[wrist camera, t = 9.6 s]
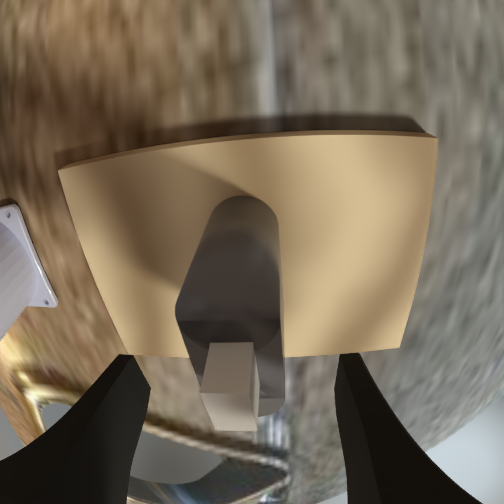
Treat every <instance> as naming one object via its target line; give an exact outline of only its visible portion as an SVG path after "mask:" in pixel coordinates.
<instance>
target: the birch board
mask: <svg viewBox="0 0 504 504" xmlns="http://www.w3.org/2000/svg"><path fill="white" fill-rule="evenodd" d="M437 148H438V138H437V137H435V136H432V135H430V134H428V133H422V132H405V131H381V130H314V131H289V132H272V133H258V134H245V135H234V136H225V137H215V138H207V139H199V140H191V141H184V142H177V143H170V144H164V145H157V146H151V147H146V148H140V149H134V150H129V151H124V152H119V153H114V154H109V155H104V156H100V157H95V158H91V159H86V160H82V161H78V162H74V163H70V164H68V165H66V166H65V167H63V168H61V169H60V170H58V173H59V176H60V180H61V184H62V187H63V191H64V194H65V197H66V201H67V204H68V207H69V210H70V214H71V217H72V220H73V223H74V226H75V229H76V232H77V234H78V237H79V240H80V243H81V246H82V248H83V251H84V254H85V256H86V259H87V262H88V264H89V267H90V269H91V272H92V274H93V277H94V279H95V282H96V284H97V287H98V289H99V291H100V294H101V296H102V298H103V301H104V303H105V305H106V307H107V310H108V312H109V314H110V316H111V318H112V320H113V323H114V325H115V327H116V329H117V331H118V333H119V335H120V337H121V339H122V341H123V343H124V345H125V347H126V349H127V351H128V353H129V354H135V355H150V356H167V357H189V355H188V352H187V349H186V347H185V344H184V341H183V338H182V335H181V333H180V330H179V327H178V324H177V321H176V317H175V305H176V301H177V298H178V296H179V293H180V291H181V288H182V285H183V283H184V280H185V278H186V275H187V272H188V270H189V267H190V265H191V262H192V260H193V257H194V255H195V252H196V250H197V247H198V245H199V242H200V240H201V237H202V235H203V232H204V230H205V228H206V225H207V223H208V220H209V218H210V215H211V213H212V211H213V210H214V209H215V207H216V206H217V205H218V204H219V203H221V202H222V201H224V200H225V199H228V198H230V197H234V196H251V197H254V198H257V199H259V200H261V201H263V202H264V203H266V204H267V205H268V206H269V207H270V208H271V209H272V210H273V212H274V213H275V215H276V217H277V220H278V225H279V238H280V253H281V269H282V285H283V303H284V354H285V357H298V356H316V355H330V354H343V353H354V352H364V351H374V350H382V349H391V348H399V346H400V343H401V340H402V337H403V334H404V330H405V327H406V323H407V320H408V316H409V313H410V309H411V305H412V301H413V298H414V294H415V289H416V285H417V281H418V277H419V272H420V268H421V263H422V258H423V253H424V248H425V243H426V237H427V232H428V226H429V219H430V213H431V206H432V199H433V191H434V182H435V173H436V162H437Z"/></svg>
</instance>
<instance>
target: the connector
mask: <svg viewBox="0 0 504 504" xmlns="http://www.w3.org/2000/svg"><path fill="white" fill-rule="evenodd" d="M175 317H176V321H177V324H178V327H179V330H180V333H181V335H182V338H183V341H184V344H185V347H186V349H187V352H188V355H189V358H190V360H191V363H192V366H193V368H194V371H195V374H196V376H197V379H198V381H199V384H200V386H201V390H200V394H201V397H202V399H203V402H204V404H205V406H206V409H207V411H208V413H209V416H210V418H211V420H212V422H213V425H214V427H215V429H216V430H230V431H257V423H258V417H261V416H265V415H269V414H271V413H274V412H275V411H277V410H278V409H280V408H281V407H282V405H283V404H284V401H285V354H284V303H283V285H282V269H281V253H280V238H279V225H278V220H277V217H276V215H275V213H274V212H273V210H272V209H271V208H270V207H269V206H268V205H267V204H266V203H264V202H263V201H261V200H259V199H257V198H254V197H251V196H234V197H230V198H228V199H225V200H224V201H222V202H221V203H219V204H218V205H217V206H216V207H215V209H214V210H213V211H212V213H211V215H210V218H209V220H208V223H207V225H206V228H205V230H204V232H203V235H202V237H201V240H200V242H199V245H198V247H197V250H196V252H195V255H194V257H193V260H192V262H191V265H190V267H189V270H188V272H187V275H186V278H185V280H184V283H183V285H182V288H181V291H180V293H179V296H178V298H177V301H176V305H175Z"/></svg>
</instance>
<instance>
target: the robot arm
mask: <svg viewBox="0 0 504 504" xmlns="http://www.w3.org/2000/svg"><path fill="white" fill-rule="evenodd" d="M57 304H58V299H57V297H56V295H55V293H54V291H53V289H52V287H51V285H50V283H49V281H48V279H47V276H46V274H45V272H44V270H43V267H42V265H41V263H40V261H39V258H38V256H37V253H36V251H35V249H34V246H33V244H32V241H31V239H30V236H29V233H28V231H27V228H26V225H25V223H24V220H23V217H22V214H21V211H20V209H19V207H18V206H17V205H16V204H11V205H7V206H3V207H0V341H1V340H2V338H3V337H4V336H5V334H6V333H7V331H8V330H9V329H10V327H11V326H12V325H13V323H14V322H15V320H16V319H17V318H18V316H19V315H20V314H21V313H22V311H23V310H24V309H25V307H26V306H38V307H56V306H57ZM150 390H151V387H150V386H149V384H148V382H147V380H146V378H145V377H144V375H143V373H142V371H141V369H140V367H139V365H138V364H137V362H136V360H135V358H134V356H133V355H122V354H119V355H118V356H117V357H116V358H115V359H114V361H113V362H112V363H111V364H110V365H109V366H108V367H107V369H106V370H105V371H104V372H103V373H102V374H101V376H100V377H99V378H98V379H97V380H96V381H95V382H94V384H93V385H92V386H91V387H90V388H89V389H88V390H87V391H86V393H85V394H84V395H83V396H82V397H81V398H80V399H79V400H78V401H77V402H76V403H75V404H74V405H73V407H72V408H71V409H70V410H69V411H68V412H67V413H66V414H65V415H64V416H63V417H62V418H61V419H60V420H59V421H58V422H56V423H55V424H54V425H53V426H52V427H51V428H49V429H48V430H47V431H46V432H45V433H43V434H42V435H41V436H39V437H38V438H37V439H35V440H34V441H33V442H31V443H30V444H29V445H27V446H26V447H24V448H23V449H21V450H19V451H18V452H16V453H14V454H13V455H11V456H9V457H7V458H5V459H3V460H1V461H0V504H126V502H127V492H128V483H129V476H130V470H131V465H132V461H133V457H134V453H135V450H136V446H137V443H138V440H139V437H140V433H141V430H142V427H143V423H144V420H145V417H146V413H147V408H148V403H149V396H150ZM334 391H335V405H336V416H337V421H338V427H339V432H340V438H341V444H342V449H343V455H344V461H345V467H346V475H347V495H348V504H482V503H481V502H479V501H478V500H477V499H475V498H474V497H473V496H471V495H470V494H469V493H467V492H466V491H465V490H463V489H462V488H461V487H460V486H459V485H457V484H456V483H455V482H454V481H453V480H452V479H451V478H450V477H448V476H447V475H446V474H445V473H444V472H443V471H442V470H441V469H440V468H439V467H438V466H437V465H436V464H435V463H434V462H433V461H432V460H431V459H430V458H429V457H428V455H427V454H426V453H425V452H424V451H423V450H422V449H421V448H420V446H419V445H418V444H417V443H416V442H415V440H414V439H413V438H412V437H411V436H410V434H409V433H408V432H407V430H406V429H405V428H404V426H403V425H402V424H401V422H400V421H399V419H398V418H397V417H396V415H395V414H394V412H393V411H392V409H391V408H390V406H389V405H388V403H387V401H386V400H385V398H384V397H383V395H382V394H381V392H380V390H379V389H378V387H377V385H376V383H375V382H374V380H373V378H372V376H371V375H370V373H369V371H368V369H367V367H366V365H365V363H364V361H363V359H362V357H361V355H360V354H359V353H348V354H340V357H339V363H338V369H337V376H336V382H335V387H334Z"/></svg>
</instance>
